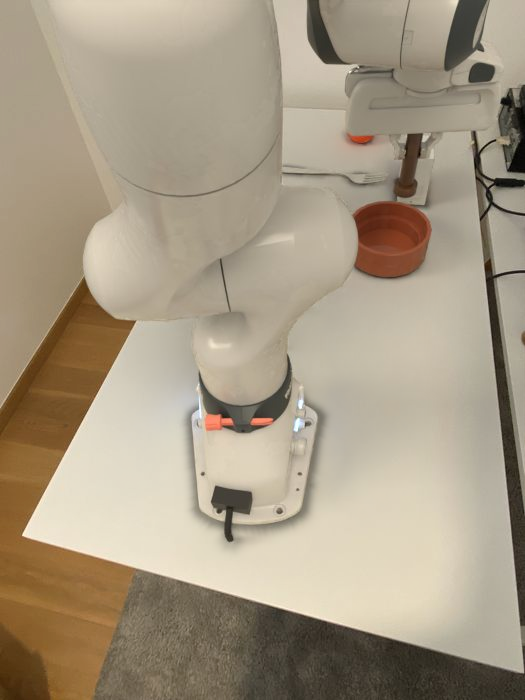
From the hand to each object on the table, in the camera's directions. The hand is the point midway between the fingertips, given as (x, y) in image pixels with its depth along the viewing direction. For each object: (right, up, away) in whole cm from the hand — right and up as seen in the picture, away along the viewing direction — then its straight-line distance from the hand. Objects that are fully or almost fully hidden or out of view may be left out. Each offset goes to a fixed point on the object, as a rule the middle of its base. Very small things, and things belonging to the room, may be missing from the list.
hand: (411, 156), depth 74 cm
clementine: (+1, +19, +41) cm, 45 cm away
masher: (0, -3, +5) cm, 6 cm away
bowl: (+1, -10, +19) cm, 22 cm away
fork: (-7, +9, +34) cm, 36 cm away
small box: (+8, +3, +28) cm, 30 cm away
